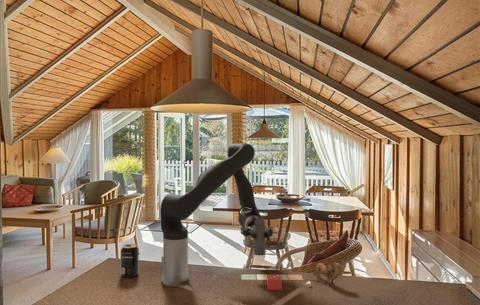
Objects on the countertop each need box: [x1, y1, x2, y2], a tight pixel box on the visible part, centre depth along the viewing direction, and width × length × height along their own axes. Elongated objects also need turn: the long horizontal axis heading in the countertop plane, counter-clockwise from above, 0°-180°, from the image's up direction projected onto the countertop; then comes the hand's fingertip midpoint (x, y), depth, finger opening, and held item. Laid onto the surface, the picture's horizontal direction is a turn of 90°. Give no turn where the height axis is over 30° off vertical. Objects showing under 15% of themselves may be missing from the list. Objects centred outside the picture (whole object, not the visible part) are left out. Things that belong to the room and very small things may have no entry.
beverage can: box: [120, 243, 139, 278], centre depth 145 cm, size 7×7×12 cm
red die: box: [266, 274, 283, 291], centre depth 131 cm, size 5×5×5 cm
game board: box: [240, 274, 312, 288], centre depth 141 cm, size 28×12×1 cm, turn 90°
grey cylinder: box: [253, 217, 266, 256], centre depth 141 cm, size 4×4×14 cm
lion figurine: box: [314, 262, 345, 288], centre depth 139 cm, size 15×5×9 cm, turn 35°
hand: (260, 235), depth 138 cm, fingers closed on grey cylinder, 4 cm apart
